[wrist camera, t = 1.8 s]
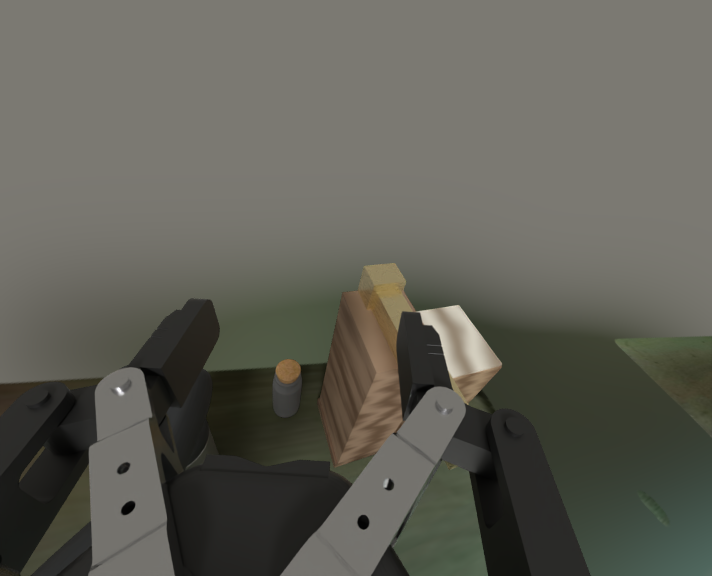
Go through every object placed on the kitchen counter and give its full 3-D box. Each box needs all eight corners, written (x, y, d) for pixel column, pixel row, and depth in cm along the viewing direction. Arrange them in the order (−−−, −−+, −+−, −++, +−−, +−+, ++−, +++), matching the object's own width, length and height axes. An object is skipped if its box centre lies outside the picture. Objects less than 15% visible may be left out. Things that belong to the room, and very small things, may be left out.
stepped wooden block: (334, 467, 62) (372, 373, 38) (317, 402, 71) (339, 292, 47) (441, 432, 71) (528, 338, 47) (414, 378, 80) (475, 276, 56)
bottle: (293, 388, 72) (296, 352, 62) (303, 410, 69) (308, 376, 59) (269, 399, 70) (268, 362, 59) (278, 422, 66) (279, 388, 56)
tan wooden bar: (443, 472, 31) (464, 454, 28) (357, 290, 48) (364, 265, 44) (482, 456, 33) (506, 439, 29) (386, 287, 49) (394, 263, 46)
